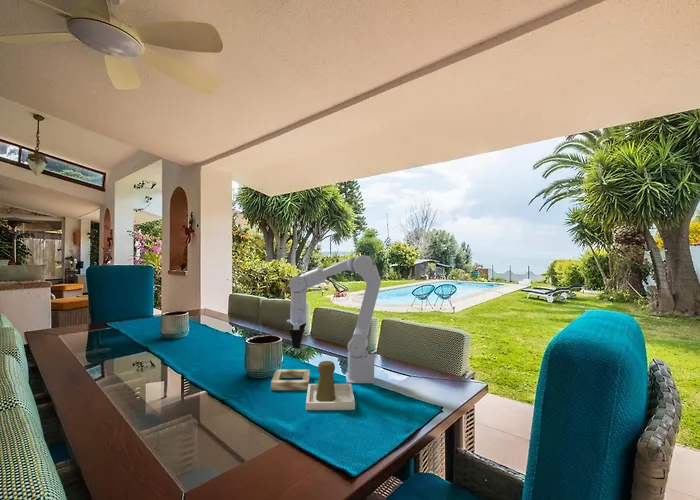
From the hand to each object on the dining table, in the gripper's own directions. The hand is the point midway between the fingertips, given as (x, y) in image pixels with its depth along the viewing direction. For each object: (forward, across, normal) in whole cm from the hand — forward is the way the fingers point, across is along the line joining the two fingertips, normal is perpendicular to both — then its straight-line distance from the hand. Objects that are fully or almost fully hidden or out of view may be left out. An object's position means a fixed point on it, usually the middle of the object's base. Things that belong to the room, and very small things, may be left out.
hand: (297, 345), depth 124 cm
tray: (+10, +22, +12) cm, 27 cm away
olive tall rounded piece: (+10, +22, +11) cm, 27 cm away
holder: (+10, +9, -1) cm, 14 cm away
